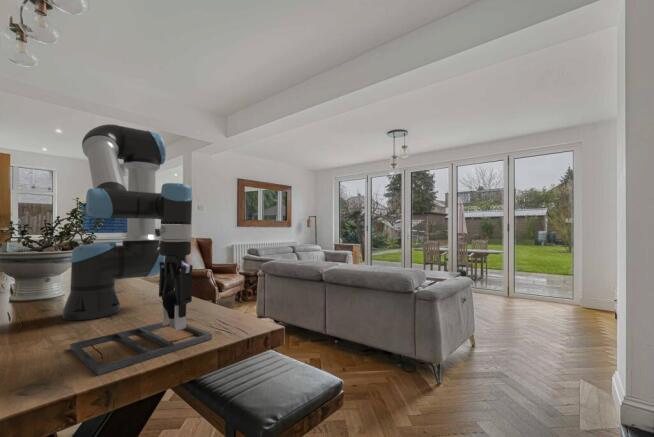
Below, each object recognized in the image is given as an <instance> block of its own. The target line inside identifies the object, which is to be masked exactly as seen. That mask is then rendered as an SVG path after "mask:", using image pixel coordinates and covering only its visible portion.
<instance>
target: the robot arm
mask: <svg viewBox="0 0 654 437" xmlns="http://www.w3.org/2000/svg"><path fill="white" fill-rule="evenodd" d="M81 147H82V152H83V154H84V156H85V157H86V158H88V160H87V161H88V166H89V170H90V176H91V181H92V188H89V189H88V190H87V192H86V198H85V211H86V215H87V216H89V217H91V218H103V219H127V234H126V235H127V236H126V237H124V238H123V239H122V243H121V244H122V245H117V242H115V241H106V242H104V241H103V242H95V243H89V244H83V245H78V246H76V247H74V248H73V249H72V251H71V257H70V259H71V260H70V261H69V262H70V263H71V266H70V267H71V268H70V269H71V270H70V290H69V295H68V297H67V300H66V302H65V304H64V307H63V308H62V316H61V318H62V319H63V320H66V321H85V320H93V319H99V318H104V317H108V316H111V315H115V314H117V313H119V312H120V311H121V302H120V299H119V297H118V294H117V292H116V289H115V287H116V286H115V285H116V284H115V283H116V281H117V280H125V279H126V280H127V279H136V278H148V277H154V276H157V275H159V282H158V296H159V298H161V300H162V301H163V298H164V296H165V295H166V294H167V293H168V292H170V291H172V290H175V293H176V301H177V303H176V304H174V306H175V318H174V328H173V330H175V331H176V330H180V329H183V330H184V328H186V324H187V305H188V304H189V303H192V301H193V300H192V298H193V297H192V296H193V294H192V292H193V288H192V283H193V282H192V281H193V280H192V272H193V268H194V266H193V264H188V263H187V258H186V257H187V256H189V255H190V254H191V252H192V242H191V241H190V240H191V239H192V212H193V191H192V187H191V186H190V184H186V183H179V182H166V183H163V184H162V185H161V189H160V190H161V191H160V192H156V172H157V171H158V170H160V169H161V165H164V164H165V161H166V155H167V150H166V144H165V141H164V139H163V137H162V135H160V134H159V133H156V132H153V131H150V130H145V129H144V130H142V129H139V128H133V127H128V126H122V125H118V124H101V125H99V126H96V127H93V128H92V129H91V130H89V131H88V132H87V133H86V134H85V135H84V136H83V139H82V142H81ZM119 160H122V161H123V162H122V163H123V166H124V168H126V169H127V171H128V172H127V173H128V178H127V179H128V180H127V181H128V182H127V183H128V184H127V185H128V186H126V183H125V179H124V178H125V177H124V175H123V171H122V169H121V165H120V161H119ZM156 220H160V228H159V229H158V231H159V232H160V238H158V236H157V234H156ZM160 240H162V241H160ZM162 322H163V325H168V324H169V317H168V313H167V311H166V310H165V308H164V307H163V306H162Z"/></svg>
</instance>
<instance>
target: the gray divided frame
mask: <svg viewBox="0 0 654 437" xmlns="http://www.w3.org/2000/svg"><path fill="white" fill-rule="evenodd" d="M169 326H170V325H169V324H168V325H163V321H162V322H161V321H160V322H157V323H154V324H149V325H145V326H141V327H136V328H132V329H128V330H124V331H119V332H115V333H110V334H106V335H101V336H98V337H94V338H93V337H92V338H90V339H86V340H81V341H78V342H73V343H70V344H69V350H70V351H71V352H72V353H73V354H74V355H75V356H76V357H77V358H79V360H81V362H83V363H84V364H85V365H86V366H87V367H88V368H90V370H91V371H93V373H95V374H96V375H97V376H101V375H103V374H106V373H110V372H112V371H116V370H120V369H122V368H125V367H129V366H131V365H134V364H137V363H141V362H144V361H146V360H147V361H148V360H150V359H153V358H156V357H159V356H162V355H166V354H169V353H172V352H175V351H179V350H181V349H185V348H188V347H190V346H194V345H198V344H202V343H205V342H206V341H210V340H213V334H212V333H211V332H207V331H205V330H203V329H200V328H197V327H196V326H193V325H191V324H188V323H186V328H184V329H180V330H176V331H175V330H174V329H172V330H168V331H165V332H160V333H158V334H157V333H156V334H155V333H153V332H151V331H154V330H156V329H157V330H158V329H161V328H166V327H169ZM170 327H171V326H170ZM138 334H139V335H141V336H143V337H145V338H146V339H148V340H150V341H152V342H153V343H155V344H158V345H159V346H161V348H157V349H154V350H150V349H149V348H147V347H145V346H144V345H142V344H140V343H139V342H137V341H135V340H134V339H132V338H131V337H129V336H133V335H138ZM194 335H196V336H197V337H194V338H193V337H192V336H194ZM189 337H192V338H190V339H187V340H184V341H181V342H178V343H177V342H176V343H173V342H175V341H179V340H181V339H184V338H189ZM113 340H118V341H120V342H121V343H122V344H125V346H128V347H129V348H131V349H132V350H134V351H136V352H137V353H138V355H134V356H132V357H127V358H124V359H121V360H118V361H117V360H116V361H114V362H110V363H108V364H105V365H104V364H103V365H102V364H100V362H99V361H97V360H96V359H95V358H94V357H92V356H91V355H90V354H89V353H88V352H87V351H85V349H83V348H86V347H89V346H94V345H96V344H97V345H98V344H101V343H105V342H106V343H107V342H110V341H113Z"/></svg>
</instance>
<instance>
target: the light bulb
mask: <svg viewBox="0 0 654 437" xmlns="http://www.w3.org/2000/svg"><path fill="white" fill-rule="evenodd" d="M176 303H177V301H176V293H175V289H174V290H172V291H170V292H168V293H167V294H166V295H165V296H164V298H163V300H162V308H163V307H164V308H165V310H166V311H167V313H168V317H169V325H170V327H172V328H173V329H174V318H175V306H174V304H176Z"/></svg>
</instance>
